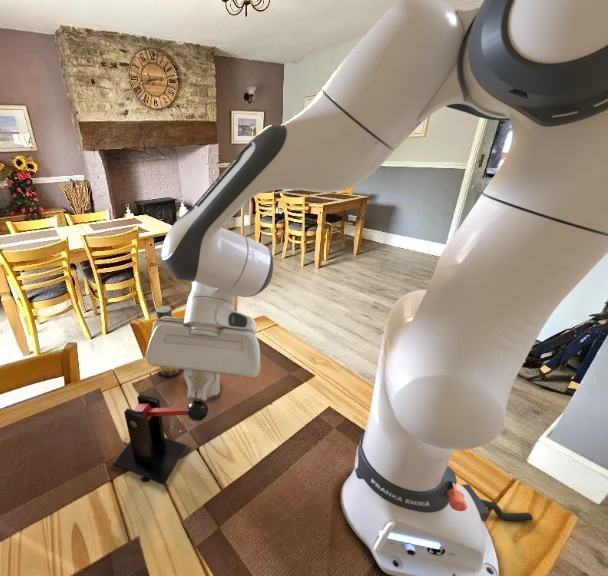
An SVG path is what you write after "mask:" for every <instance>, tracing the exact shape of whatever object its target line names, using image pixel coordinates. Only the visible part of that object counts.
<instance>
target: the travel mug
mask: <svg viewBox="0 0 608 576" xmlns="http://www.w3.org/2000/svg"><path fill="white" fill-rule="evenodd" d="M220 377H221V376H220V374H217V375H216V381H215V382H214V383H213V385H212V386H211V388H210V389H209V390H208V394H207V398H210V397H212V396H215V397H216V396H218V395H219V393H220V391H221V379H220ZM191 378H192V381H193V384H194V387H195V388H199V389H202V388H203V387H204V385H205V384H206V382H207V381H208V380H209V379H207V378H206V372H200V371H195V377H191Z"/></svg>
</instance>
